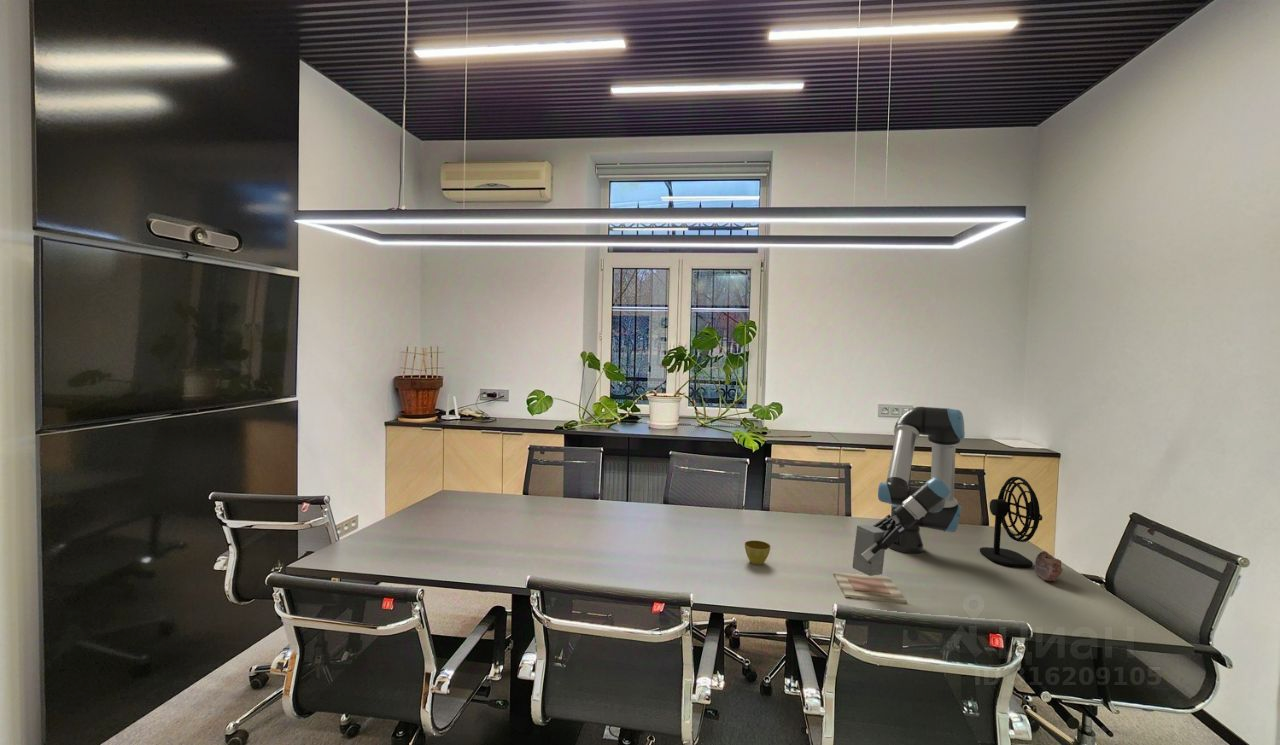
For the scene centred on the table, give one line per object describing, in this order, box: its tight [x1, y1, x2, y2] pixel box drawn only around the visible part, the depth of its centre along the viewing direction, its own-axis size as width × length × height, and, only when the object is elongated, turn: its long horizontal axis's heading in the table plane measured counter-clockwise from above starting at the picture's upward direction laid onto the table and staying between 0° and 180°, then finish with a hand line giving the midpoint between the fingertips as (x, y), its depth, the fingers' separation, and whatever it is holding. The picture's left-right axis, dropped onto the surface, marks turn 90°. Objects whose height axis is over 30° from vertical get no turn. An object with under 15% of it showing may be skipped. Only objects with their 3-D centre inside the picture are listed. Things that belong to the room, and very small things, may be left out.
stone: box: [1034, 550, 1064, 582], centre depth 213 cm, size 13×8×10 cm
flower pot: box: [744, 540, 772, 566], centre depth 220 cm, size 10×10×7 cm
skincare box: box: [851, 524, 886, 576], centre depth 198 cm, size 8×7×16 cm
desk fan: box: [979, 476, 1043, 568], centre depth 233 cm, size 27×18×35 cm, turn 173°
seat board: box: [832, 571, 907, 604], centre depth 199 cm, size 20×20×1 cm
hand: (860, 552), depth 198 cm, fingers closed on skincare box, 10 cm apart
